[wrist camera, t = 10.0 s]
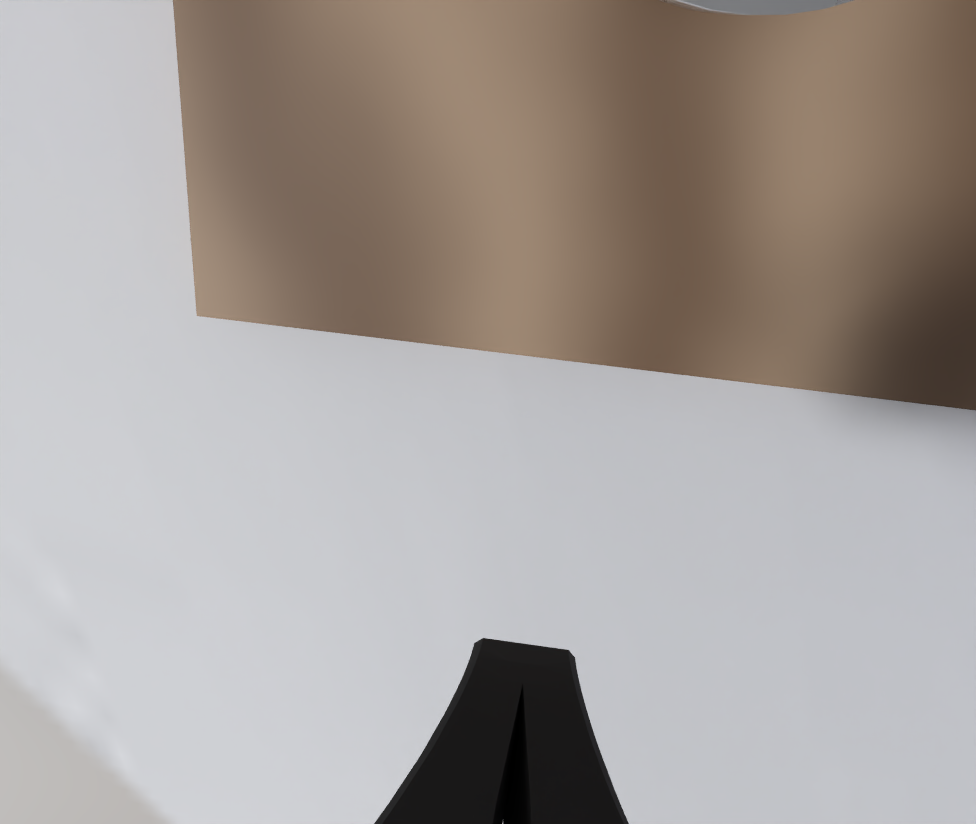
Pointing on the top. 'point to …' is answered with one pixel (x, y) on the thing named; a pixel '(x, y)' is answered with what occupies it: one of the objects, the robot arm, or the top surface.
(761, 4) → the crank handle wheel
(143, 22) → the top surface
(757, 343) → the plain tan brown board
